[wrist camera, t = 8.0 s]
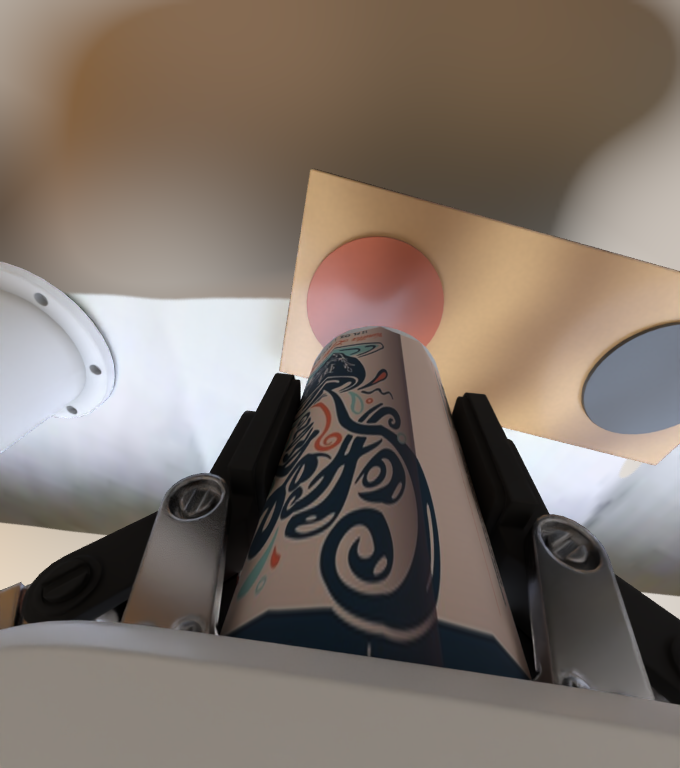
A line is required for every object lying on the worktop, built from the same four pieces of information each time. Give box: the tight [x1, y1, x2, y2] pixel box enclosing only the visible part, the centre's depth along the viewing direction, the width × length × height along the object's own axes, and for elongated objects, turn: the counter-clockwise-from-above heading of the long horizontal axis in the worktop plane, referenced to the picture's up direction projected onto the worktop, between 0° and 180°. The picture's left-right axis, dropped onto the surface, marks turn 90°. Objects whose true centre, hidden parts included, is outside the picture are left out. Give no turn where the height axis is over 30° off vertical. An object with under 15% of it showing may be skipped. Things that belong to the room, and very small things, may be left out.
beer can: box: [220, 326, 532, 681], centre depth 8 cm, size 5×5×12 cm
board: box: [279, 169, 680, 465], centre depth 20 cm, size 28×12×2 cm, turn 77°
